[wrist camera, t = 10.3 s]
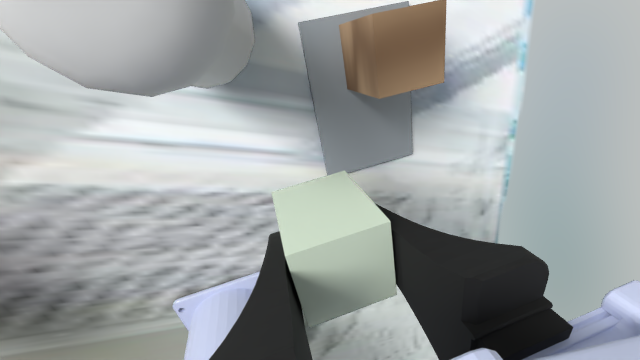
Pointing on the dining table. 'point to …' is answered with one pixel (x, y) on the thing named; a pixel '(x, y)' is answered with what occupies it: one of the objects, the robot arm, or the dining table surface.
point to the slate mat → (352, 102)
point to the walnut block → (395, 50)
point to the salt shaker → (134, 41)
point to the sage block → (335, 246)
